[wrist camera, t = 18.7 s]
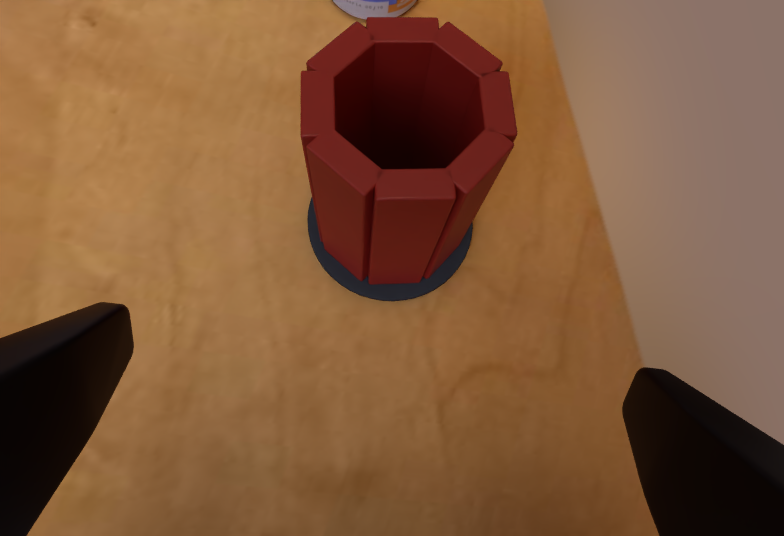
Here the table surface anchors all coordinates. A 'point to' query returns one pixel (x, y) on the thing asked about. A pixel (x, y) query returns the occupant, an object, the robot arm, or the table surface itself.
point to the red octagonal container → (402, 143)
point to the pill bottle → (375, 7)
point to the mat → (385, 290)
